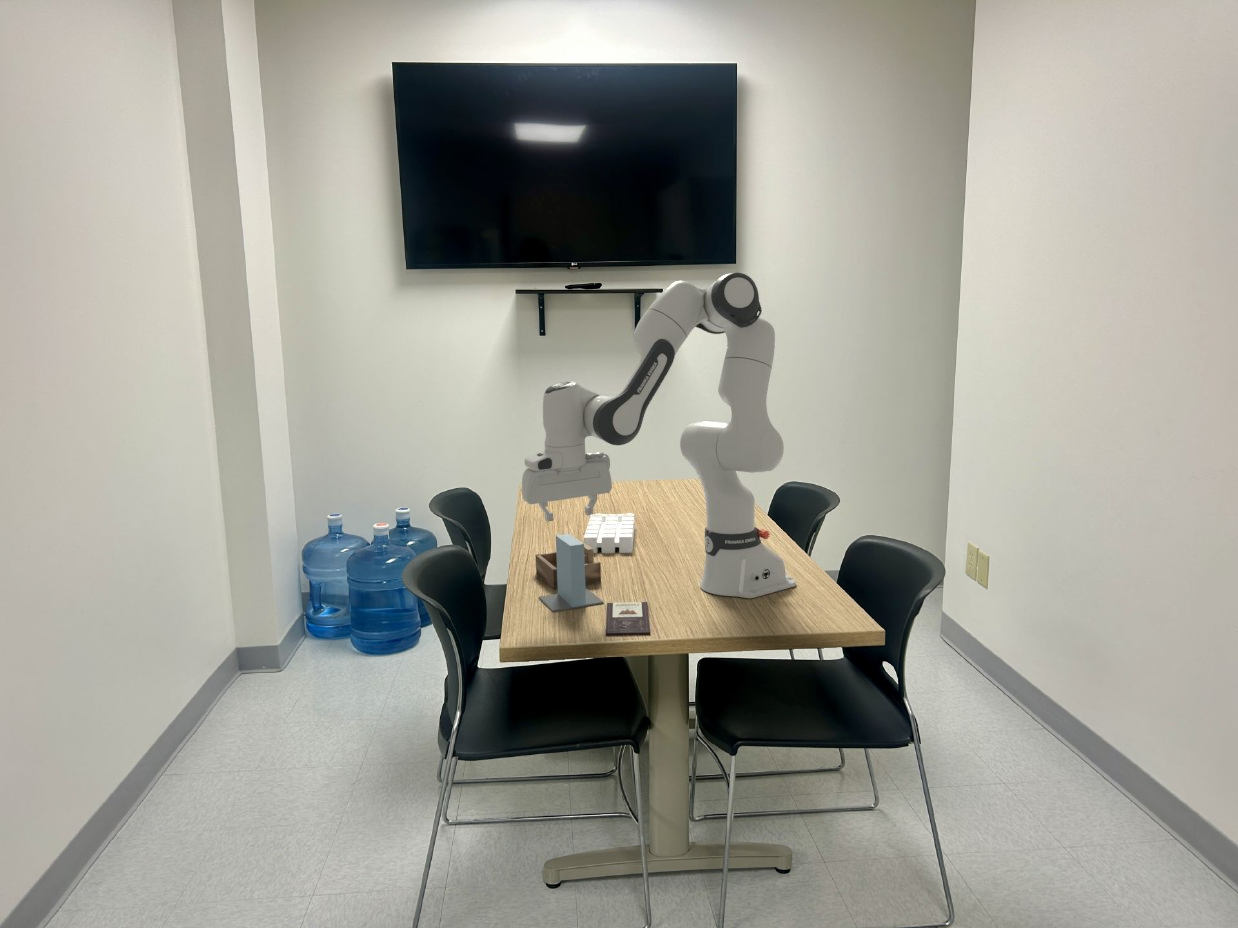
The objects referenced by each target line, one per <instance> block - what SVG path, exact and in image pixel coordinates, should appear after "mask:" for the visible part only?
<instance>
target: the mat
mask: <svg viewBox="0 0 1238 928" xmlns="http://www.w3.org/2000/svg"><path fill="white" fill-rule="evenodd" d="M538 599H539V600H540V601H541V602H542V603H543V604H544V605H545V606H546V607H547V608H548V609H549V610H550V611H551V612H552V613H554V612H555V613H556V612H562V611H567V610H572V609H579V608H585V607H591V606H596V605H602V604H604V603H605V602H604V601H603V600H602V599H600V597H598V596H597V595H596V594H595V593H593V591H591V590H590V589H589V588H586V605H584V606H577V607H572V606H570V605H569V604H568V603H567V602H566V601H565V600H564V599H563V598H562V597H561V596H560V595H559V594H558V593H555V594H548V595H542V596H538Z"/></svg>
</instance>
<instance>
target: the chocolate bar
mask: <svg viewBox="0 0 1238 928" xmlns="http://www.w3.org/2000/svg"><path fill="white" fill-rule="evenodd" d="M648 605H649V604H648V601H631V602H630V601H629V602H626V601H624V602H606V617H605V637H613V636H614V637H616V636H618V637H621V636H650V635H651V626H650V614H649V606H648Z"/></svg>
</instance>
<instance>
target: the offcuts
mask: <svg viewBox="0 0 1238 928" xmlns="http://www.w3.org/2000/svg"><path fill="white" fill-rule="evenodd" d="M579 541H580V540H579ZM580 542H582V543H583V544H584V558H585V564H588V563H594V562H595V557H594V554H595V553H594V552H593V548H591V547H590V546H588V545H587V544H585V543H584V541H583V540H581V541H580Z"/></svg>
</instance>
